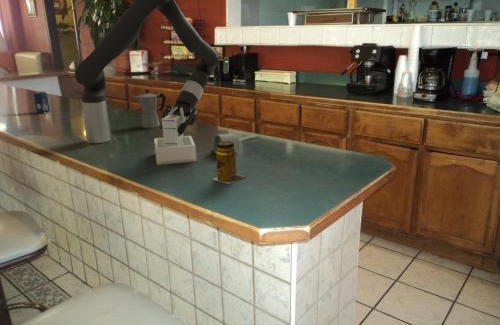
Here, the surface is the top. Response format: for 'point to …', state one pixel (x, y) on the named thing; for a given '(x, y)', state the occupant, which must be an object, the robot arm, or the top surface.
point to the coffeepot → (149, 109)
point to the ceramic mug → (226, 137)
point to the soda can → (41, 102)
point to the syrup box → (172, 131)
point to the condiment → (226, 163)
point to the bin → (175, 152)
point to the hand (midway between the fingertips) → (170, 131)
